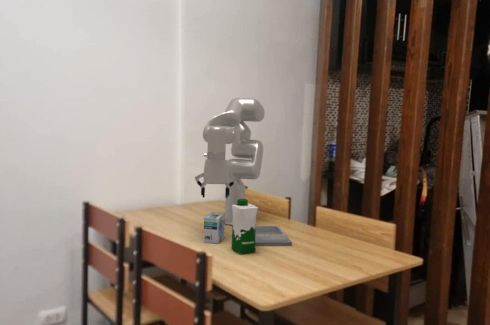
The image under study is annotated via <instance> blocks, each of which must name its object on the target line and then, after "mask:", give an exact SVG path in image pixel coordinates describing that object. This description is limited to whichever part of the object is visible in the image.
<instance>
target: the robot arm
mask: <svg viewBox="0 0 490 325" xmlns="http://www.w3.org/2000/svg"><path fill="white" fill-rule="evenodd" d="M264 108H265V107H264V106H263V105H262V103H261V102H260V101H259V100H258V99H256V98H253V97H234V98H233V99H231V100H230V102H229V103H228V105H227V106H226V109H225V110H224V112H222V113H220V114H217V115H216V116H213V117H211V118H210V119H209V120H208V121H207V123H206V124H205V126H204V127H203V128H204V129H203V131H202V139H203V140H204V142H206V143H207V152H206V153H205V152H204V153H203V157H205V158H206V159H205V160H204V166H203V172H202V173H200V174H198V175H196V176H194V180H195V181H196V184H197V185H198V186H199V187H200V188H201V190H200V195H201V196H202V198H205V196H206V195H205V193H206V192H205V191H206V190H205V189H206V187H205V186H206V185H225V191H224V192H225V193H224V194H225V196H224V197H225V208H224V209H225V211H224V213H225V225H228V226H232V222H233V212H232V205H235V204H237V201H238V199H246V186H245V184H244V182H243V180H257V179H258V178H260V174H261V169H262V163H263V157H264V144H263V143H262V141H260V140H258V139H251V135H252V131H251V128H250V127H249V125H247V124H246V122H250V123H251V122H254V123H255V122H256V123H257V122H259V123H260V122H262V121H263V119H264V118H265V109H264ZM230 144H231V149H230V154H231V155H232V157H234V158H230V159H228V160H227V159H226V146H227V145H230ZM201 178H203V182H201V181H200V179H201Z"/></svg>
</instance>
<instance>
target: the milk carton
mask: <svg viewBox="0 0 490 325" xmlns="http://www.w3.org/2000/svg"><path fill="white" fill-rule="evenodd" d="M248 201H249V200H248V199H247V198H245V199H238V201H237V204H235V205H232V212H233V222H232V225H231V228H232V229H231V230H232V231H231V250H233V251H234V252H235V253H237V254H238V255H244V254H252V253H256V246H255V235H256V226H257V214H258V210H259V207H258V206H256V205H254V204H251V203H249V202H248Z"/></svg>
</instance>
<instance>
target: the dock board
mask: <svg viewBox="0 0 490 325" xmlns="http://www.w3.org/2000/svg"><path fill="white" fill-rule="evenodd" d="M271 234H278V233H277V232H256V235H271ZM292 245H293V242H292V241H291V239H290V238H289V237H288V236H287V241H255V247H291V246H292Z"/></svg>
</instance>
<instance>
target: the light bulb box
mask: <svg viewBox="0 0 490 325" xmlns="http://www.w3.org/2000/svg"><path fill="white" fill-rule="evenodd" d="M225 228H226V224H225V212H213V211H210V212H209V213H208V214H206V215H205V216H204V217H203V243H209V244H220V243H221V241H222V240H223V239H224V238H225V230H226V229H225Z"/></svg>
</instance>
